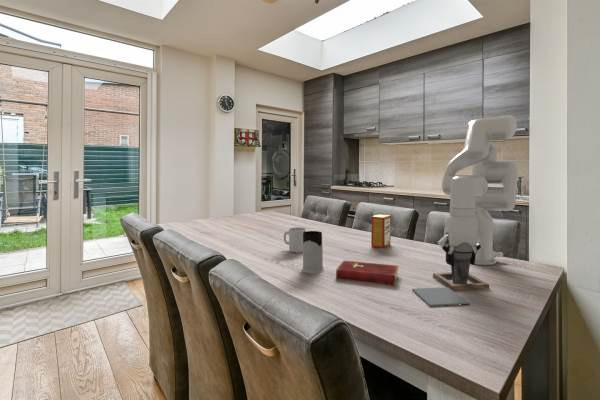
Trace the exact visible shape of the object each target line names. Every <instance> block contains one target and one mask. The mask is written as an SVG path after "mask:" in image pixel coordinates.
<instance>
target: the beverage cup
mask: <svg viewBox="0 0 600 400" xmlns="http://www.w3.org/2000/svg"><path fill="white" fill-rule="evenodd" d="M450 247H451V246H450ZM472 252H473V250H472V246H471V245H470V244H469V243H461V244H459V245H458V246H456V247H455V248H454V250H453V252H452V254H453V266H450V267H451V270H450V271H451V272H452V278H451V281H452V283H453V284H468V281H469V280H468V275H469V274H470V266H471V264H470V260H471V256H472Z"/></svg>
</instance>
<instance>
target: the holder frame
mask: <svg viewBox="0 0 600 400" xmlns="http://www.w3.org/2000/svg"><path fill="white" fill-rule="evenodd" d="M432 278H433V279H435V280H436V281H438V282H439V283H441V284H442V285H443V286H444V287H448V288H450V289H451V290H452V291H469V290H470V291H471V290H473V289H474V290H475V289H476V290H490V283H487V282H485V281H484V280H482V279H481V278H479V277H477V276H475V275H473V274H471V273H469V275H468V280H467V281H470V282H472V283H467V284H454V283H453V282H451V281H450V279H452V271H451V272H433V275H432Z"/></svg>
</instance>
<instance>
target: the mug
mask: <svg viewBox="0 0 600 400" xmlns="http://www.w3.org/2000/svg"><path fill="white" fill-rule="evenodd" d="M306 231H307V228H306V227H298V226H297V227H296V226H295V227H290V228H288V230H286V231H284V233H283V243H284V244H286V245H288V249H289V252H290V251H291V252H290V253H292V252H296V253H295V254H301V253H300V252H303V232H306ZM287 235H288V241H287Z"/></svg>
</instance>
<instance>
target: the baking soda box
mask: <svg viewBox="0 0 600 400" xmlns="http://www.w3.org/2000/svg"><path fill="white" fill-rule="evenodd" d="M391 223H392V215H391V214H380V213H378V214H374V215H373V216H371V239H370V240H371V242H370V243H371V246H370V247H371V248H377V249H385V248H386V249H387V248H388V247H389V246H391V242H392V241H391V238H392V237H391V235H392V232H391V230H392V226H391V225H392V224H391Z"/></svg>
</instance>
